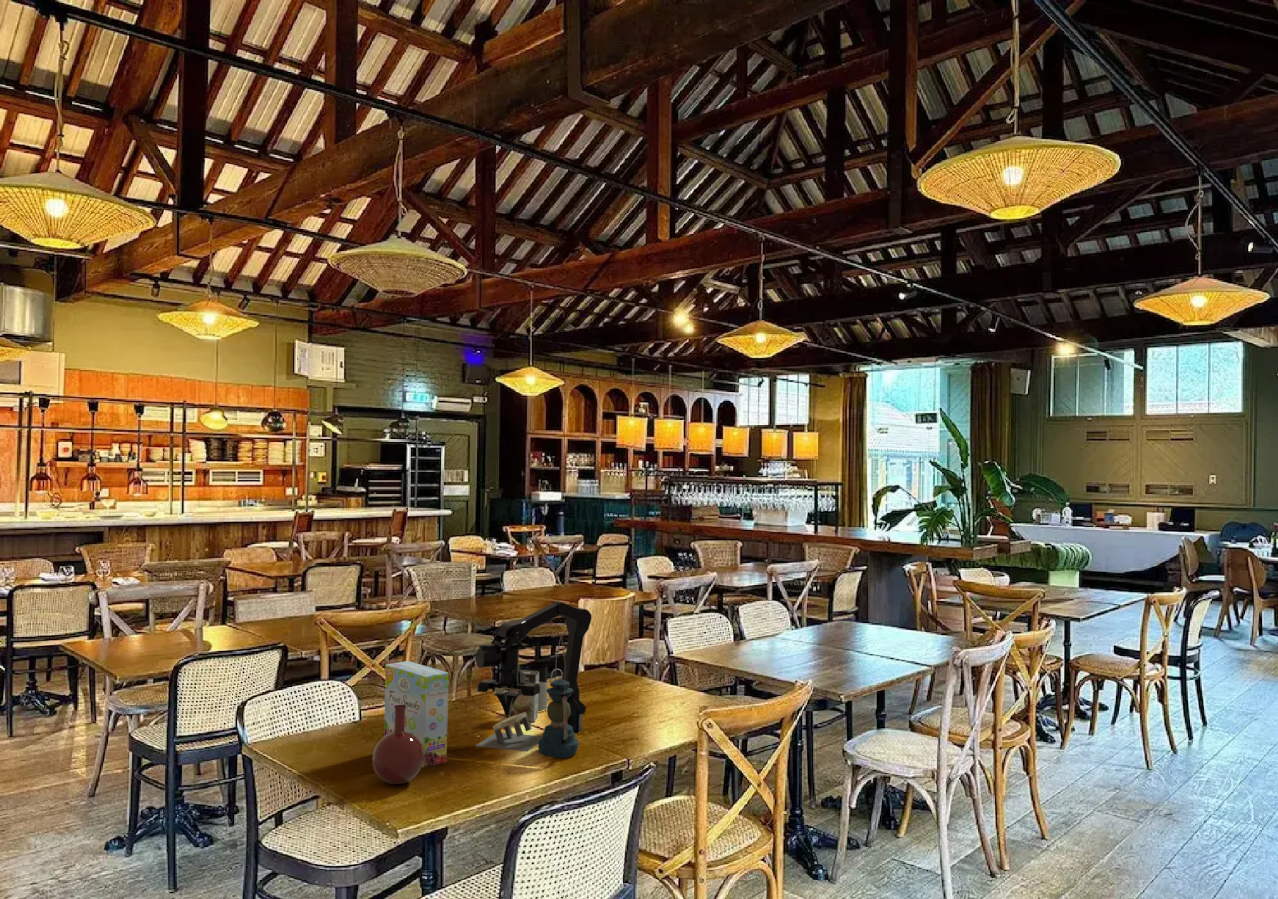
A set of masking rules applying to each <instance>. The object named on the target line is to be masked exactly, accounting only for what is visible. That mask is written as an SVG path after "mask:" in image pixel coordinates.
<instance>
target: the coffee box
mask: <svg viewBox="0 0 1278 899" xmlns="http://www.w3.org/2000/svg"><path fill="white" fill-rule="evenodd" d="M520 672H523V673H525V674H526V676H525V682H524V684H518V685H525V684H526V683H538V684H539V671H528V670H526V669H520ZM512 688H513V687H512ZM524 712H526V715H527V717H528V720H529V723H532V722H534V721H535V720H537V719H538V714H539V713H538V694H536V695H535V696H524V695H523V694H521V695H519V696H518V697H517V698H516V700H515V702H514V705H513V708H512V710H511V713H510V716H508V718H510V717H513V716H516V715H518V714H521V713H524ZM519 721H522V719H521V720H519ZM535 722H536V721H535ZM535 722H534V723H535Z"/></svg>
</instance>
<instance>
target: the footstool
mask: <svg viewBox="0 0 1278 899" xmlns="http://www.w3.org/2000/svg"><path fill="white" fill-rule="evenodd" d="M521 719H522V722H519V720H521ZM520 723H522V724H523V727H524V730H525V732H528V731H531V730H532V726H531V722H529V720H528V717H527V715H526V712H524V713H521V714H518V715H516V716H513V717H510V718H509V717H507V718H504V719H503V720H500V721H499V722H498V723H496V724H494V725H493V726H492V729H493V732H494V734H496V737H497V740H498V743H499V744H501V743H503V742H505V741H504V738H503V735H502V732H503V731H502V730H501V728H504V733H506V735H507V738H510V737H512V736H513V734H514V732H513V731H512V728H511V725H513V728H514V730H515V734H517V737H520V736H522V735H523V734H524V732H523V730H522V727H521V724H520Z"/></svg>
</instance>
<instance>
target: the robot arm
mask: <svg viewBox="0 0 1278 899" xmlns="http://www.w3.org/2000/svg"><path fill="white" fill-rule="evenodd" d="M557 617H561V618H564V619H565V620H566V621H565V623H566V624H565V626H566V629H567V630H566V631H567V632H568V637H567V644H566V645H567V646H566V651H565V655H564V656H565V663H564V662H563V663H564V664H563V671H562V673H563V677H562V676H561V677H562V680H565V681H567V682H569V686H568V687H567V688H571V689H573V692H572V693H571V696H570V697H568V700H567V702H568V703H569V705H570V716H569V718H568V719H567V723H568V725H570V726H572V727H573V732H574V733H575V734H579V733H580V732H581V731H583V730H584V729H585V728H584V727H583V715H584V714H585V713H586V711H587V706H586V705H585V704H584V703H583V702H582V701H581V700H580V694H581V692H580V687H579V684H578V675H579V670H580V668H579V667H580V663H581V656H582V650H583V642H584V637H585V635H586V634H587V632H588V630H589V629H590V626H591V623H592V614H591V612H590V611H589V610H588V609H586V608H582V607H577V606H572V605H568V604H566V603H565V602H563V601H559V600H554V601H552V602H551V603H550V604H549V605H547V606H544V607H542V608H541V609H538V610H536V611H535V612H532V613H531V614H528V615H526V616H525V617H523V618H520V619H514V620H509V621H507V622H504V623H501V624H500V626H499V627H498V630H497V631H498V632H497V633H496V635H495V636H494V638H493V639H492V640H491V642H490V644H479V646H478V649H477V651H476V654H475V655H474V656H475V658H474V659H475V663H476V664H475V665H476V666H477V667H478V669H483V668H491V667H493V668H494V667H497V666H499V668H498V669H497V670H498V671H497V672H498V673H499V681H498V682H497V680H496V679H488V678H485V679H483V680H481V681H479V682H478V684H477V687H476V689H477V690H476V691H477V692H478V693H479V692H480V693H487V692H488V691H489V690H495V693H493V694H494V696H495V697H497V700H498V701H499V703H500V704H501V707H502V710H503V712H504V714H505V717H509V716H510V713H511V710H512V708H513V705H514V702H515V700H516V698H517V697H518V696H519V695H521V694H523V695H524V696H535V695H536V694H538V693H540V686H539V684H538V683H526V684H525V685H518V684H524V682H525V676H526V674H525V673H523V672H520V670H521V666H520V665H519V660H520V658H519V657H520V650H526V648H527V647H526V646H525V645H524V644H523V643H522V642H521V641H522V640H523V639H525V638H526V637H527V636H528V635H529V633H530V632H532V630H534V629H536V628H538V627H540V626H542V625H544V624H546V623H547V622H550V621H551V620H553V619H555V618H557ZM565 665H566V677H565ZM512 687H513V688H512Z"/></svg>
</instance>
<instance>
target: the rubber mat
mask: <svg viewBox="0 0 1278 899" xmlns="http://www.w3.org/2000/svg"><path fill="white" fill-rule="evenodd" d="M501 732H502V735H503V738H504V741H505V742H503V743H501V744H499V743H498V740H497V737H496V734H495V733H493V734H492V735H490V736H488V737H486V738H485V739H484V740H482V741H480V742H479V743H477V744H476V745H475V747H482V748H489V749H491V748H492V749H501V750H510V751H520V752H529V751H531V750H532V749H533V748H534V747H536V746H538V742H539V740H540V739H542V736H543V735H542V736H541V735H532V734H524V733H523V735H522V736H520V737H517V734H516V733H513V736H512V737H510V738H507V735H506V732H503V731H501Z"/></svg>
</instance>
